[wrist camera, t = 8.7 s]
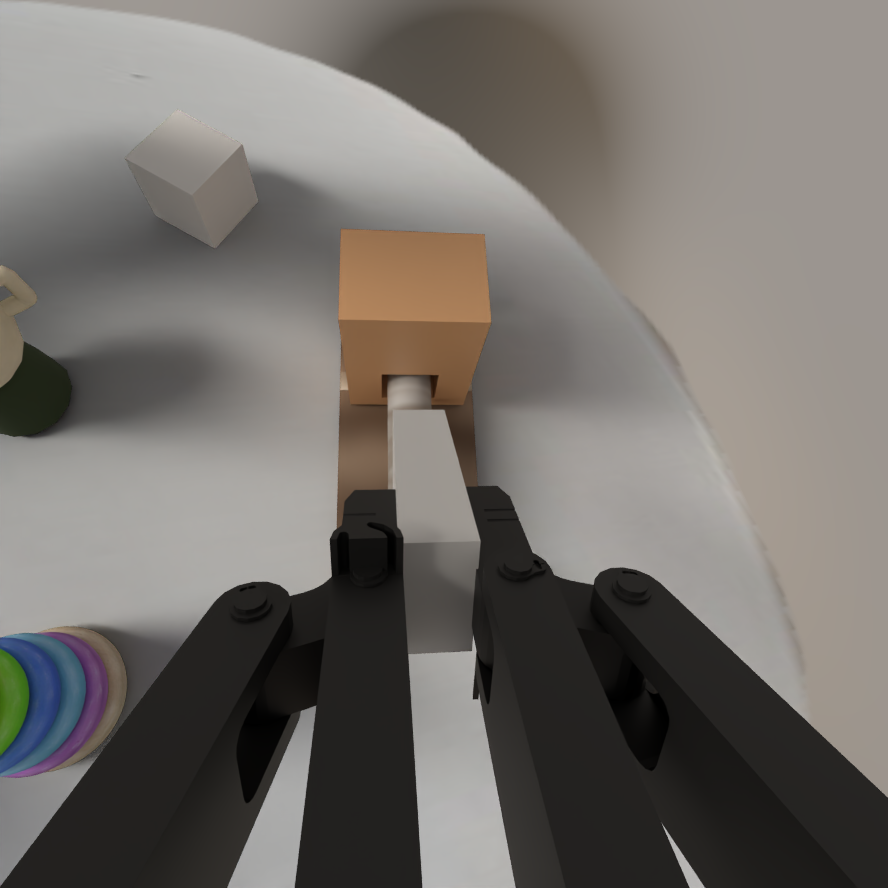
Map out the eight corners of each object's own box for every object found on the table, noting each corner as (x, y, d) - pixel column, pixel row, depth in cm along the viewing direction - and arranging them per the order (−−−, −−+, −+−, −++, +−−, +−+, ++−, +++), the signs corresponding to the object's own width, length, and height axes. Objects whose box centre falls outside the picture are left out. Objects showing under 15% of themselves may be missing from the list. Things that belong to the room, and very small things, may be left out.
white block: (215, 250, 46) (191, 195, 40) (155, 216, 46) (123, 158, 41) (259, 201, 48) (242, 143, 42) (201, 170, 48) (177, 108, 43)
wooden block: (463, 404, 42) (491, 322, 31) (350, 404, 41) (338, 319, 30) (459, 334, 44) (484, 234, 33) (351, 332, 43) (340, 228, 32)
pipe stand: (482, 612, 38) (500, 607, 33) (335, 617, 37) (327, 613, 32) (463, 290, 47) (474, 242, 41) (343, 287, 46) (337, 237, 40)
